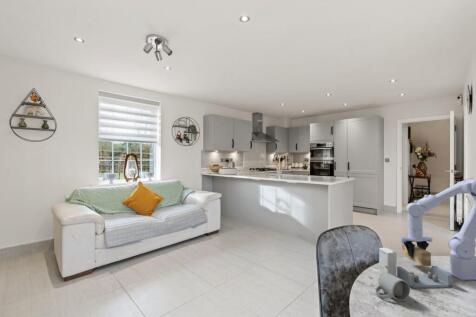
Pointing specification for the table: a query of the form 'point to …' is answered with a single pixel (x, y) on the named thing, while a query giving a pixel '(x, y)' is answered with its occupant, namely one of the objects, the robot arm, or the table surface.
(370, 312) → the table surface
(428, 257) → the oak plank
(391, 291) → the ceramic mug
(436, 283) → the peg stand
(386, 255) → the skincare box
